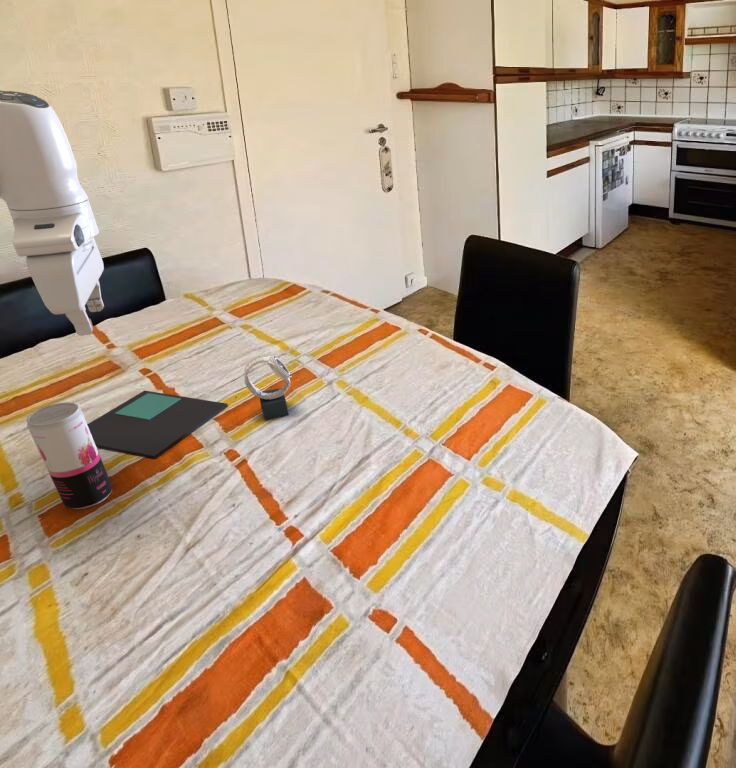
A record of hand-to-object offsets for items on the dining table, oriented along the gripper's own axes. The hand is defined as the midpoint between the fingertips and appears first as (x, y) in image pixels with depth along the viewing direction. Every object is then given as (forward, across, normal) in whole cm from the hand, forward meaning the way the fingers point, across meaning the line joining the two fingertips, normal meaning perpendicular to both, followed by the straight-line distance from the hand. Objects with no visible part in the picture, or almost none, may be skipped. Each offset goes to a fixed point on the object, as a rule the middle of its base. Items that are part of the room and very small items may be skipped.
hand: (92, 321), depth 90 cm
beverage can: (+26, +5, -7) cm, 28 cm away
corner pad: (+26, -21, -1) cm, 34 cm away
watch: (+26, -10, +21) cm, 35 cm away
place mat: (+26, -16, -1) cm, 30 cm away
